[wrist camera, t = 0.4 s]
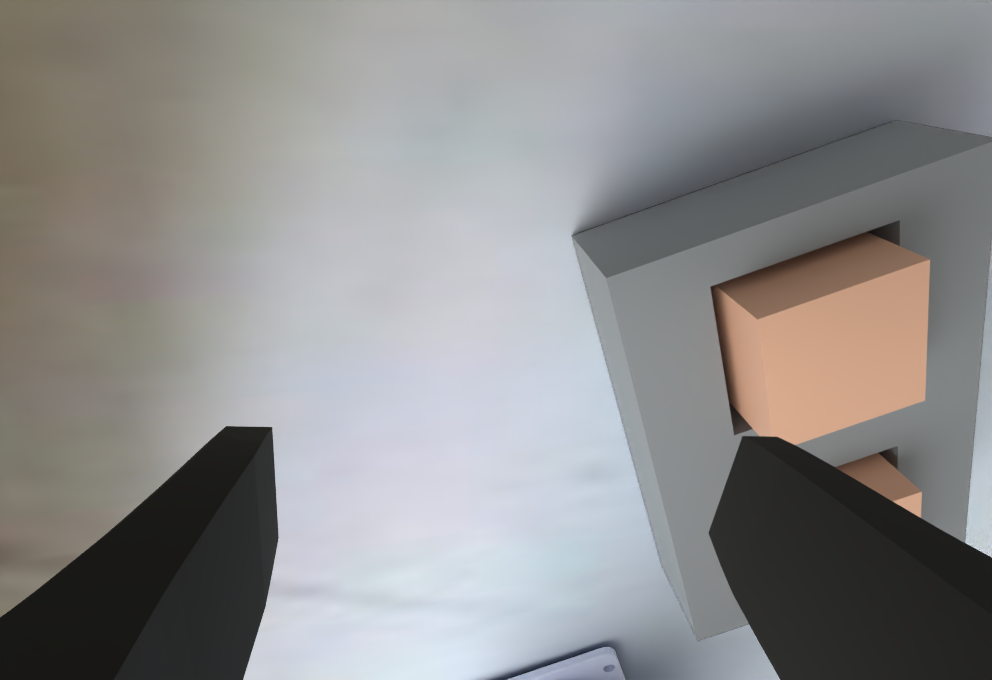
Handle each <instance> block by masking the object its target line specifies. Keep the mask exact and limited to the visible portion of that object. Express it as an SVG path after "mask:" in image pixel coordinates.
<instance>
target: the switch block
mask: <svg viewBox="0 0 992 680" xmlns="http://www.w3.org/2000/svg"><path fill="white" fill-rule="evenodd" d="M864 232H868V233H870V234H873V235H875V236H877V237H880V238H882V239H884V240H887V241H889V242H891V243H894V244H896V245H898V246H900V247H903V248H905V249H907V250H910V251H912V252H914V253H917V254H919V255H921V256H924V257H926V258H928V259H930V278H929V306H928V334H927V362H926V390H925V401H922V402H919V403H916V404H914V405H911V406H908V407H905V408H902V409H899V410H896V411H893V412H890V413H887V414H884V415H881V416H879V417H876V418H873V419H870V420H867V421H864V422H861V423H858V424H855V425H852V426H849V427H846V428H843V429H841V430H838V431H835V432H832V433H829V434H826V435H823V436H820V437H817V438H814V439H811V440H808V441H806V442H803V443H800V444H797V445H796V446H798V447H799V448H801V449H803V450H805V451H807V452H809V453H811V454H812V455H814V456H816V457H818V458H820V459H821V460H823V461H825V462H827V463H828V464H830V465H832V466H834V467H837V466H840V465H843V464H846V463H849V462H852V461H855V460H858V459H861V458H864V457H866V456H869V455H872V454H875V453H879V454H880V455H881V456H882V457H883V458H885V459H886V460H887V461H888V462H889V463H890V464H891V465H892V466H894V467H895V468H896V469H897V470H898V471H899V472H900V473H901V474H903V475H904V476H905V477H906V478H907V479H908V480H909V481H910V482H912V483H913V484H914V485H915V486H916V487H917V488H918V489H919V490H921V491H922V502H921V518H922V519H924V520H925V521H927V522H929V523H931V524H932V525H934V526H936V527H937V528H939V529H941V530H943V531H944V532H946V533H948V534H950V535H952V536H953V537H955V538H957V539H959V540H960V541H962V542H964V543H965V536H966V525H967V513H968V502H969V490H970V479H971V468H972V456H973V445H974V434H975V422H976V411H977V399H978V388H979V377H980V365H981V354H982V342H983V331H984V320H985V308H986V297H987V286H988V274H989V263H990V251H991V240H992V137H988V136H982V135H977V134H971V133H965V132H960V131H954V130H948V129H943V128H937V127H931V126H926V125H920V124H914V123H909V122H903V121H897V120H895V121H892V122H889V123H886V124H884V125H881V126H878V127H875V128H872V129H870V130H867V131H864V132H861V133H858V134H856V135H853V136H850V137H847V138H844V139H842V140H839V141H836V142H833V143H830V144H828V145H825V146H822V147H819V148H816V149H814V150H811V151H808V152H805V153H802V154H800V155H797V156H794V157H791V158H788V159H786V160H783V161H780V162H777V163H774V164H771V165H769V166H766V167H763V168H760V169H757V170H755V171H752V172H749V173H746V174H743V175H741V176H738V177H735V178H732V179H729V180H727V181H724V182H721V183H718V184H715V185H713V186H710V187H707V188H704V189H701V190H699V191H696V192H693V193H690V194H687V195H685V196H682V197H679V198H676V199H673V200H671V201H668V202H665V203H662V204H659V205H657V206H654V207H651V208H648V209H645V210H643V211H640V212H637V213H634V214H631V215H629V216H626V217H623V218H620V219H617V220H615V221H612V222H609V223H606V224H603V225H601V226H598V227H595V228H592V229H589V230H587V231H584V232H581V233H578V234H575V235H573V236H572V239H573V243H574V247H575V250H576V254H577V258H578V261H579V265H580V269H581V272H582V276H583V280H584V283H585V287H586V291H587V294H588V298H589V302H590V305H591V309H592V313H593V316H594V320H595V324H596V327H597V331H598V335H599V338H600V342H601V346H602V349H603V353H604V357H605V360H606V364H607V368H608V371H609V375H610V379H611V382H612V386H613V390H614V393H615V397H616V401H617V404H618V408H619V412H620V415H621V419H622V423H623V426H624V430H625V434H626V438H627V441H628V445H629V449H630V452H631V456H632V460H633V463H634V467H635V471H636V474H637V478H638V482H639V485H640V489H641V493H642V496H643V500H644V504H645V507H646V511H647V515H648V518H649V522H650V526H651V529H652V533H653V537H654V540H655V544H656V548H657V551H658V555H659V559H660V562H661V566H662V568H663V570H664V572H665V574H666V576H667V578H668V581H669V583H670V585H671V587H672V589H673V591H674V593H675V595H676V597H677V599H678V601H679V603H680V606H681V608H682V610H683V612H684V614H685V616H686V618H687V620H688V622H689V624H690V626H691V628H692V631H693V633H694V635H695V637H696V639H697V641H700V640H703V639H706V638H709V637H712V636H715V635H718V634H721V633H724V632H727V631H730V630H733V629H736V628H739V627H742V626H745V625H748V624H749V623H748V621H747V619H746V617H745V615H744V614H743V612H742V610H741V608H740V606H739V605H738V603H737V601H736V599H735V597H734V595H733V593H732V591H731V589H730V586H729V584H728V582H727V579H726V577H725V575H724V572H723V570H722V568H721V565H720V563H719V560H718V557H717V555H716V552H715V549H714V547H713V544H712V541H711V539H710V536H709V530H710V527H711V524H712V521H713V518H714V516H715V513H716V510H717V507H718V504H719V501H720V499H721V496H722V493H723V490H724V487H725V484H726V481H727V479H728V476H729V473H730V470H731V467H732V464H733V462H734V459H735V456H736V453H737V450H738V447H739V445H740V442H741V439H742V436H759V435H758V434H757V433H756V432H755V431H754V429H753V428H752V427H751V426H750V425H749V424H748V423H747V421H746V420H745V419H744V418H743V417H742V416H741V415H740V413H739V412H738V411H737V410H736V409H735V408H734V407H733V405H732V404H731V403H730V402H729V400H728V394H727V388H726V382H725V376H724V369H723V363H722V357H721V351H720V344H719V338H718V332H717V326H716V319H715V313H714V307H713V301H712V294H711V288H710V287H711V286H714V285H716V284H719V283H722V282H725V281H728V280H731V279H733V278H736V277H739V276H742V275H745V274H748V273H750V272H753V271H756V270H759V269H762V268H765V267H768V266H770V265H773V264H776V263H779V262H782V261H785V260H787V259H790V258H793V257H796V256H799V255H802V254H804V253H807V252H810V251H813V250H816V249H819V248H822V247H824V246H827V245H830V244H833V243H836V242H839V241H841V240H844V239H847V238H850V237H853V236H856V235H858V234H861V233H864Z"/></svg>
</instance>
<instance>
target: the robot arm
mask: <svg viewBox="0 0 992 680" xmlns="http://www.w3.org/2000/svg"><path fill="white" fill-rule="evenodd" d="M709 536H710V539H711V541H712V544H713V547H714V549H715V552H716V555H717V557H718V560H719V563H720V565H721V568H722V570H723V572H724V575H725V577H726V579H727V582H728V584H729V586H730V589H731V591H732V593H733V595H734V597H735V599H736V601H737V603H738V605H739V606H740V608H741V610H742V612H743V614H744V615H745V617H746V619H747V621H748V623H749V625H750V626H751V628H752V630H753V632H754V634H755V635H756V637H757V639H758V641H759V643H760V644H761V646H762V648H763V650H764V651H765V653H766V655H767V657H768V658H769V660H770V662H771V664H772V665H773V667H774V669H775V671H776V673H777V674H778V676H779V678H780V680H992V558H991V557H990V556H988V555H986V554H984V553H982V552H980V551H978V550H977V549H975V548H973V547H971V546H969V545H967V544H966V543H964V542H962V541H960V540H959V539H957V538H955V537H953V536H952V535H950V534H948V533H946V532H944V531H943V530H941V529H939V528H937V527H936V526H934V525H932V524H931V523H929V522H927V521H925V520H924V519H922V518H920V517H918V516H917V515H915V514H913V513H912V512H910V511H908V510H906V509H905V508H903V507H901V506H900V505H898V504H896V503H895V502H893V501H891V500H889V499H888V498H886V497H884V496H883V495H881V494H879V493H878V492H876V491H874V490H873V489H871V488H869V487H868V486H866V485H864V484H862V483H861V482H859V481H857V480H856V479H854V478H852V477H851V476H849V475H847V474H846V473H844V472H842V471H840V470H839V469H837V468H835V467H834V466H832V465H830V464H828V463H827V462H825V461H823V460H821V459H820V458H818V457H816V456H814V455H812V454H811V453H809V452H807V451H805V450H803V449H801V448H799V447H798V446H796V445H794V444H792V443H790V442H787V441H785V440H783V439H781V438H779V437H769V436H742V439H741V442H740V445H739V447H738V450H737V453H736V456H735V459H734V462H733V464H732V467H731V470H730V473H729V476H728V479H727V481H726V484H725V487H724V490H723V493H722V496H721V499H720V501H719V504H718V507H717V510H716V513H715V516H714V518H713V521H712V524H711V527H710V530H709ZM277 543H278V522H277V504H276V487H275V469H274V452H273V434H272V427H233V426H226V427H225V428H224V429H223V430H221V431H220V432H219V433H218V434H217V435H216V436H215V437H213V438H212V439H211V440H210V441H209V442H208V443H207V444H206V445H205V446H204V447H202V448H201V449H200V450H199V451H198V452H197V453H196V454H195V455H194V456H193V457H192V458H191V459H190V460H188V461H187V462H186V463H185V464H184V465H183V466H182V467H181V468H180V469H179V470H178V471H177V472H176V473H174V474H173V475H172V476H171V477H170V478H169V479H168V480H167V481H166V482H165V483H164V484H162V485H161V486H160V487H159V488H158V489H157V490H156V491H155V492H154V493H152V494H151V495H150V496H149V497H148V498H147V499H146V500H145V501H143V502H142V503H141V504H140V505H139V506H138V507H137V508H135V509H134V510H133V511H132V512H131V513H130V514H129V515H127V516H126V517H125V518H124V519H123V520H122V521H121V522H119V523H118V524H117V525H116V526H115V527H114V528H113V529H111V530H110V531H109V532H108V533H107V534H106V535H104V536H103V537H102V538H101V539H100V540H98V541H97V542H96V543H95V544H94V545H92V546H91V547H90V548H89V549H87V550H86V551H85V552H84V553H82V554H81V555H80V556H79V557H77V558H76V559H75V560H74V561H72V562H71V563H70V564H69V565H67V566H66V567H65V568H64V569H62V570H61V571H60V572H59V573H58V574H56V575H55V576H54V577H53V578H51V579H50V580H49V581H48V582H46V583H45V584H44V585H43V586H41V587H40V588H39V589H38V590H36V591H35V592H34V593H32V594H31V595H30V596H29V597H27V598H26V599H25V600H23V601H22V602H21V603H19V604H18V605H17V606H15V607H14V608H13V609H11V610H10V611H9V612H7V613H6V614H5V615H3V616H2V617H0V680H243V678H244V674H245V671H246V668H247V665H248V661H249V658H250V655H251V652H252V648H253V645H254V642H255V639H256V636H257V632H258V629H259V626H260V622H261V619H262V616H263V612H264V609H265V606H266V601H267V596H268V591H269V586H270V580H271V575H272V570H273V564H274V559H275V554H276V548H277ZM507 680H626V679H625V677H624V674H623V671H622V668H621V666H620V663H619V660H618V657H617V655H616V652H615V650H614V649H613V648H611V647H602V648H599V649H596V650H593V651H590V652H587V653H584V654H581V655H578V656H575V657H572V658H569V659H566V660H563V661H560V662H557V663H554V664H551V665H548V666H545V667H542V668H539V669H537V670H534V671H531V672H528V673H525V674H522V675H519V676H516V677H513V678H510V679H507Z"/></svg>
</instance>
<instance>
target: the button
mask: <svg viewBox="0 0 992 680" xmlns="http://www.w3.org/2000/svg"><path fill="white" fill-rule="evenodd" d="M929 278H930V259H928V258H926V257H924V256H921V255H919V254H917V253H914V252H912V251H910V250H907V249H905V248H903V247H900V246H898V245H896V244H894V243H891V242H889V241H887V240H884V239H882V238H880V237H877V236H875V235H873V234H870V233H868V232H864V233H861V234H858V235H856V236H853V237H850V238H847V239H844V240H841V241H839V242H836V243H833V244H830V245H827V246H824V247H822V248H819V249H816V250H813V251H810V252H807V253H804V254H802V255H799V256H796V257H793V258H790V259H787V260H785V261H782V262H779V263H776V264H773V265H770V266H768V267H765V268H762V269H759V270H756V271H753V272H750V273H748V274H745V275H742V276H739V277H736V278H733V279H731V280H728V281H725V282H722V283H719V284H716V285H714V286H711V287H710V288H711V294H712V301H713V307H714V313H715V319H716V326H717V332H718V338H719V344H720V351H721V357H722V363H723V369H724V376H725V382H726V388H727V394H728V400H729V402H730V403H731V404H732V405H733V407H734V408H735V409H736V410H737V411H738V412H739V413H740V415H741V416H742V417H743V418H744V419H745V420H746V421H747V423H748V424H749V425H750V426H751V427H752V428H753V429H754V431H755V432H756V433H757V434H758V435H759V436H769V437H779V438H781V439H783V440H785V441H787V442H790V443H792V444H794V445H797V444H800V443H803V442H806V441H808V440H811V439H814V438H817V437H820V436H823V435H826V434H829V433H832V432H835V431H838V430H841V429H843V428H846V427H849V426H852V425H855V424H858V423H861V422H864V421H867V420H870V419H873V418H876V417H879V416H881V415H884V414H887V413H890V412H893V411H896V410H899V409H902V408H905V407H908V406H911V405H914V404H916V403H919V402H922V401H925V390H926V362H927V334H928V306H929Z"/></svg>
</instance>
